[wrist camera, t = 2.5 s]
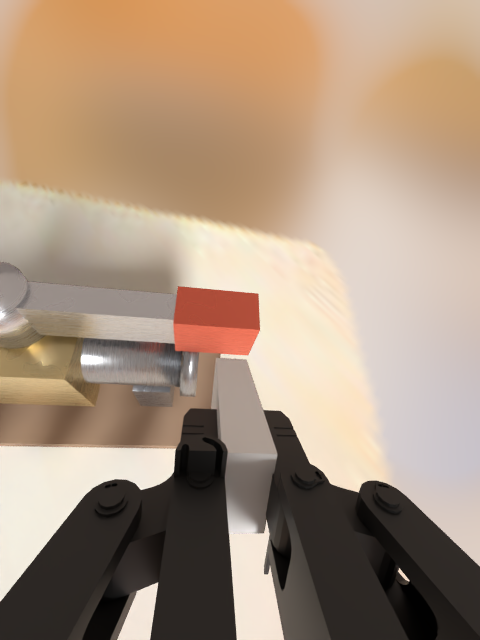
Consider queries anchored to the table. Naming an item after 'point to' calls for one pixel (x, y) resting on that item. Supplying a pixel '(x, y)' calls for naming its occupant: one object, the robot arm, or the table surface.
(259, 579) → the table surface
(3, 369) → the pipe and valve body
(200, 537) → the robot arm
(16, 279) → the valve lever
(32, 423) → the walnut base board
